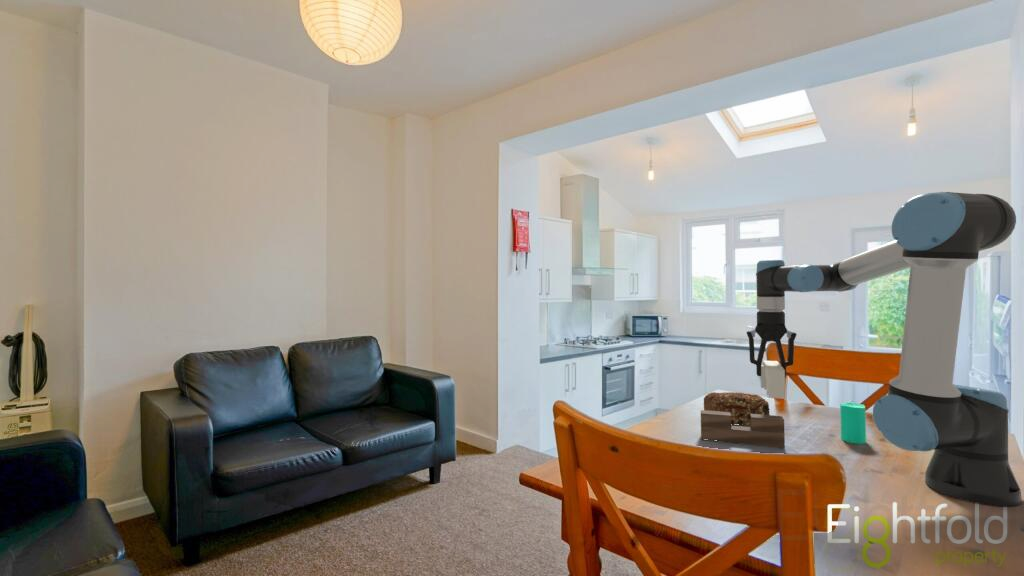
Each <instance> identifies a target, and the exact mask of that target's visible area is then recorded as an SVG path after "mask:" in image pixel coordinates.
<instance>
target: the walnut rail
mask: <svg viewBox="0 0 1024 576" xmlns="http://www.w3.org/2000/svg"><path fill="white" fill-rule="evenodd" d="M785 435H786V434H785V418H784V417H783V416H782V415H772V414H770V415H760V414H750V426H738V425H731V413H730V412H719V411H706V410H704V409H700V440H701V439H708V440H717V441H716V442H718V441H724V442H723V443H728V442H731V444H739V443H743V444H742V445H749V444H751V446H760V447H761V446H762V447H770V446H772V448H773V447H774V448H783V449H785V448H786V447H785V445H786V444H785V438H786V437H785Z"/></svg>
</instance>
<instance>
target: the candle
mask: <svg viewBox="0 0 1024 576" xmlns="http://www.w3.org/2000/svg"><path fill="white" fill-rule="evenodd" d="M851 401H852V402H844V403H840V405H839V406H840V407H839V408H840V409H839V410H840V411H839V412H840V439H841V440H842V441H844V442H847V443H853V444H860V445H861V444H865V443H866V442H867V429H866V426H867V424H866V423H867V422H866V418H867V417H866V406H865V404H861V403H856V402H854V399H852V400H851Z"/></svg>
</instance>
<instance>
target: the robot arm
mask: <svg viewBox="0 0 1024 576" xmlns="http://www.w3.org/2000/svg"><path fill="white" fill-rule="evenodd" d="M1016 225H1017V216H1016V212H1015V210H1014V208H1013V207H1012V205H1010V203H1009V202H1008V201H1006V200H1004V199H1003V198H1000V197H998V196H995V195H992V194H987V193H986V194H985V193H966V192H953V191H951V192H950V191H939V192H927V193H921V194H919V195H917V196H916V195H915V196H914V197H912V198H910V199H909V200H907V201H906V202H905V203H904V204H903V205H902V206H900V207H899V208H898V210H897V212H896V213H895V214H894V217H893V220H892V222H891V234H892V238H893V239H894V240H893V241H890V242H887V243H885V244H882V245H879V246H877V247H874V248H871V249H869V250H866V251H864V252H862V253H858V254H857V255H853V256H851V257H849V258H846V259H844V260H841V261H838V262H836V263H833V264H818V265H817V264H816V265H815V264H814V265H813V264H798V265H797V264H796V265H785V264H786V263H785V261H784V260H783V259H765V260H764V259H763V260H759V261H758V262H757V263H756V272H755V277H756V309H757V312H756V326H755V328H754V329H751V330H746V335H747V337H748V350H749V351H748V352H749V362H750V363H751V364H753V365H756V375H757V377H760V388H761V389H762V388H763V389H764V366H763V359H764V355H765V351H766V346H767V344H768V342H774V343H775V346H776V349H777V355H778V359H779V364H780V365H781V366H782V367H783V369H784V370H785V378H786V377H787V367H790V366H793V365H794V350H795V339H796V338H797V333H796V332H795V331H790V330H788V329H787V327H786V312H785V311H784V310H786V297H785V296H786V293H785V292H794V293H795V292H797V293H811V292H845V291H851V290H852V291H853V290H854V289H856V288H857V286H859V285H860V284H863V283H866V282H870V281H872V280H876V279H879V278H882V277H885V276H888V275H891V274H895V273H897V272H901V271H905V270H907V269H909V277H908V288H907V296H906V297H907V298H906V306H905V315H904V323H903V325H904V326H903V336H902V343H901V344H902V345H901V354H900V362H899V371H898V372H899V373H898V375H897V376H895V377H893V378H891V379H890V380H889V381H888V391H887V395H883V396H881V397H880V398H879V399H877V400H876V401H875V402H874V404H873V408H872V417H873V421H874V424H875V427H877V429H878V431H880V433H881V434H882V436H883V438H884V439H886V440H887V441H888V442H889V443H890V444H892V445H894V447H896V448H899V449H902V450H905V451H907V452H908V451H909V452H930V451H933V450H934V452H933V454H932V456H931V458H930V461H929V463H928V466H927V468H926V470H925V473H924V474H925V475H924V477H925V478H924V480H925V484H926V486H928V487H929V488H931V489H932V490H934V491H936V492H939V493H940V494H943V495H946V496H949V497H952V498H954V499H958V500H961V501H962V500H963V501H966V502H971V503H976V504H981V505H986V506H987V505H988V506H995V507H996V506H997V507H1013V506H1014V507H1015V506H1018V505H1021V503H1022V490H1021V488H1020V485H1019V483H1018V482H1017V481H1018V480H1017V479H1016V477H1015V474H1014V472H1013V470H1012V468H1011V465H1010V463H1009V416H1008V415H1009V414H1008V413H1010V411H1009V408H1008V403H1007V398H1006V396H1005V395H1004V394H1003V393H1002V392H999V391H996V390H991V389H986V388H980V387H973V386H968V385H961V384H960V385H959V384H954V383H953V382H954V374H955V364H956V356H957V347H958V340H959V331H960V323H961V322H960V321H961V314H962V306H963V305H962V304H963V299H964V291H965V290H964V289H965V284H966V283H965V280H966V275H967V274H966V273H967V269H968V267H970V266H972V265H973V264H975V263H976V262H977V261H978V260H979V253H980V252H981V251H985V250H988V249H993V248H994V247H996V246H998V245H1000V244H1002V243H1003V242H1005V241H1006V240H1007V239H1008V238H1009V237H1010V236H1011V235H1012V234H1013V231H1014V230H1015V228H1016ZM756 334H757V335H758V336H759V337H760V339H761V340H760V345H759V349H758V355H757V358H756V357H755V356H756V355H755V342H754V341H755V339H754V338H755V337H756ZM785 335H786V337H787V338H788V339H787V357H786V358H787V360H786V358H785V354H784V351H783V345H782V341H781V340H782V338H783V337H784V336H785Z"/></svg>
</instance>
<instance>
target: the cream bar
mask: <svg viewBox="0 0 1024 576" xmlns="http://www.w3.org/2000/svg"><path fill="white" fill-rule="evenodd" d="M762 365H763V366H764V388H763V389H764V390H766V395H767V397H768V398H769V399H770V398H771V399H781V400H785V399H786V377H785V370H784V369H783V367H782V366H781V364H780V361H778V360H762Z"/></svg>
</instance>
